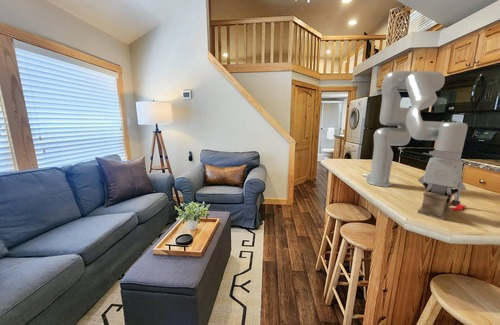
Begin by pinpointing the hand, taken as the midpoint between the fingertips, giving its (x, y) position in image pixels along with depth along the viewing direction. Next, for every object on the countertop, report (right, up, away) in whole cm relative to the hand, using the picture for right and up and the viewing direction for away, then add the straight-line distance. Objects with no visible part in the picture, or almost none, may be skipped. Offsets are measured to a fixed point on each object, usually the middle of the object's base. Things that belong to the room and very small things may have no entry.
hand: (436, 201), depth 83 cm
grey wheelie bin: (0, -2, 0) cm, 2 cm away
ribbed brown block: (0, -4, +1) cm, 4 cm away
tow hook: (+11, -4, +7) cm, 14 cm away
